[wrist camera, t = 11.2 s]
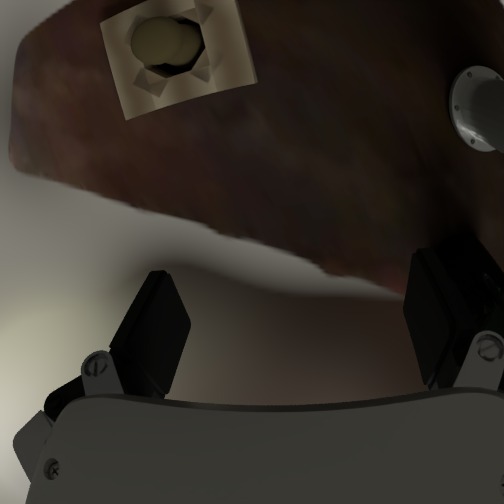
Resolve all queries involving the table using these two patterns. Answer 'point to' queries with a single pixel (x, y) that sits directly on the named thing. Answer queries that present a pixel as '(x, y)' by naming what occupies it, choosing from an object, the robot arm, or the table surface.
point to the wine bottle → (475, 279)
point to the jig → (204, 71)
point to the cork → (167, 42)
